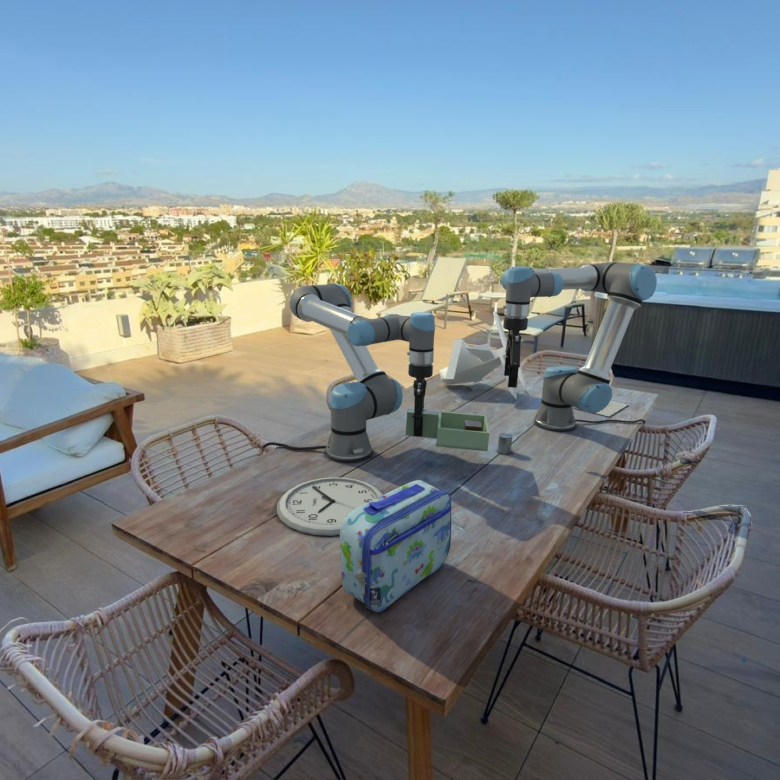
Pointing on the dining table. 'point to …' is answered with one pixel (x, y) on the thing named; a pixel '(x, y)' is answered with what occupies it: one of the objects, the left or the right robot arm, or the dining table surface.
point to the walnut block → (472, 425)
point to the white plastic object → (478, 362)
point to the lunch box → (394, 543)
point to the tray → (451, 429)
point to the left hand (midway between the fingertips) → (418, 433)
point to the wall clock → (323, 504)
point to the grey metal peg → (505, 443)
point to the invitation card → (611, 408)
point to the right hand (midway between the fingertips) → (510, 381)
